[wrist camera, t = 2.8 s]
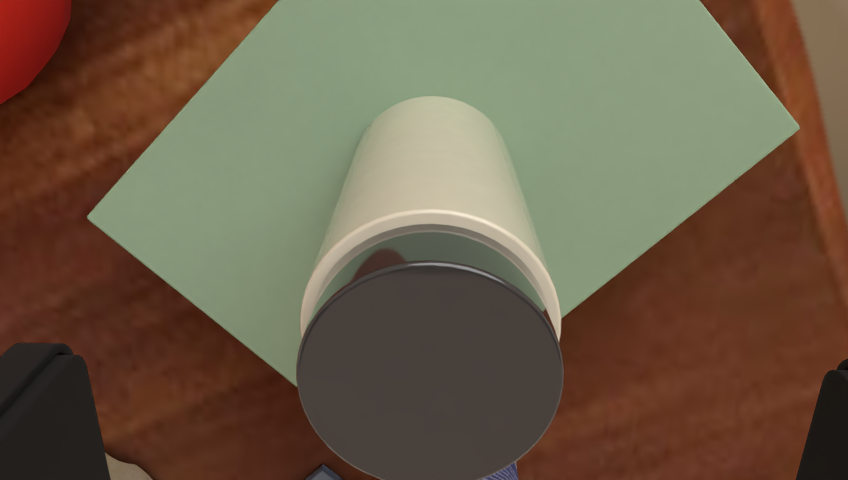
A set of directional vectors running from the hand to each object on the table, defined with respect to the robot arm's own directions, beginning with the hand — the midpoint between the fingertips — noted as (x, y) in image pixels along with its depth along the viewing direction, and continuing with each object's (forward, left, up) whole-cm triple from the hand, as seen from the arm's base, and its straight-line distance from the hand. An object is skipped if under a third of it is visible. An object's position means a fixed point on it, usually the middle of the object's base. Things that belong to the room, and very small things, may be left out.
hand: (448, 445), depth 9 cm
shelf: (0, 0, -20) cm, 20 cm away
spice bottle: (0, 0, -12) cm, 12 cm away
